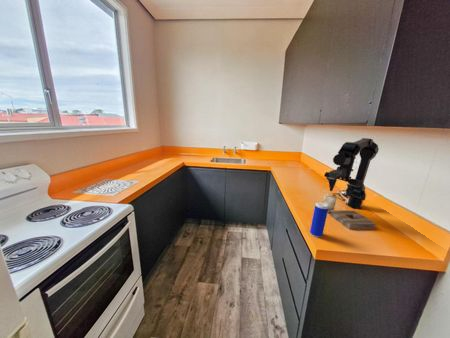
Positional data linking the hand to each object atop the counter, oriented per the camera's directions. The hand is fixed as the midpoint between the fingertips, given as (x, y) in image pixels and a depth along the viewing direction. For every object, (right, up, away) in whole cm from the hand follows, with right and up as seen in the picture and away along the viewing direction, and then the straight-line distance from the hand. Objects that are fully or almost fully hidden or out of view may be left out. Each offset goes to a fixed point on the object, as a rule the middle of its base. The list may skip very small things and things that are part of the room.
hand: (338, 193), depth 99 cm
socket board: (+5, -15, -2) cm, 16 cm away
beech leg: (-2, -12, +7) cm, 14 cm away
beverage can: (-20, -17, -16) cm, 31 cm away
